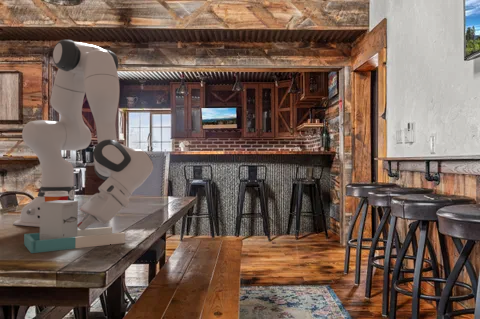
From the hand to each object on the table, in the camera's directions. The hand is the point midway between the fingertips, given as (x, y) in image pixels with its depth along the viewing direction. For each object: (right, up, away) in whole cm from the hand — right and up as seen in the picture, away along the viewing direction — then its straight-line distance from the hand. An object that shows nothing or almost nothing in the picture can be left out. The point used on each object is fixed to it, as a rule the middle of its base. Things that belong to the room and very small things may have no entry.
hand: (79, 228), depth 119 cm
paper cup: (-13, -4, +14) cm, 20 cm away
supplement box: (-5, -4, -3) cm, 7 cm away
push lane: (-1, -4, 0) cm, 4 cm away
